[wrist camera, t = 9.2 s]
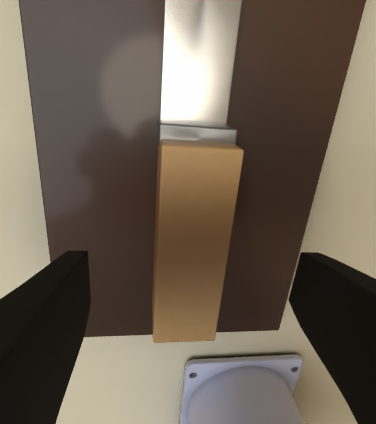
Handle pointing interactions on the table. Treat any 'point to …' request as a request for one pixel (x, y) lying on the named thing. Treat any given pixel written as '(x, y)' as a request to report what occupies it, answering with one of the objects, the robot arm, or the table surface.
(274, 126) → the board
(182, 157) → the knife
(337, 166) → the table surface
